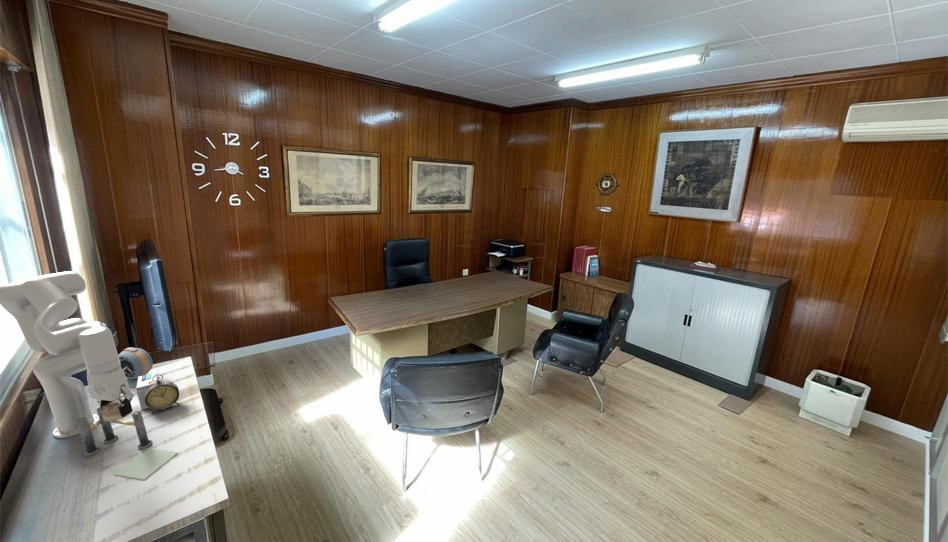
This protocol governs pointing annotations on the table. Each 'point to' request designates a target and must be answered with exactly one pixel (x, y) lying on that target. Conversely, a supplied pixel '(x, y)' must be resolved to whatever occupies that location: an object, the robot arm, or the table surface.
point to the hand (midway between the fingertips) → (117, 412)
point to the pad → (146, 464)
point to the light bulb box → (145, 387)
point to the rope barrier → (111, 432)
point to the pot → (111, 411)
